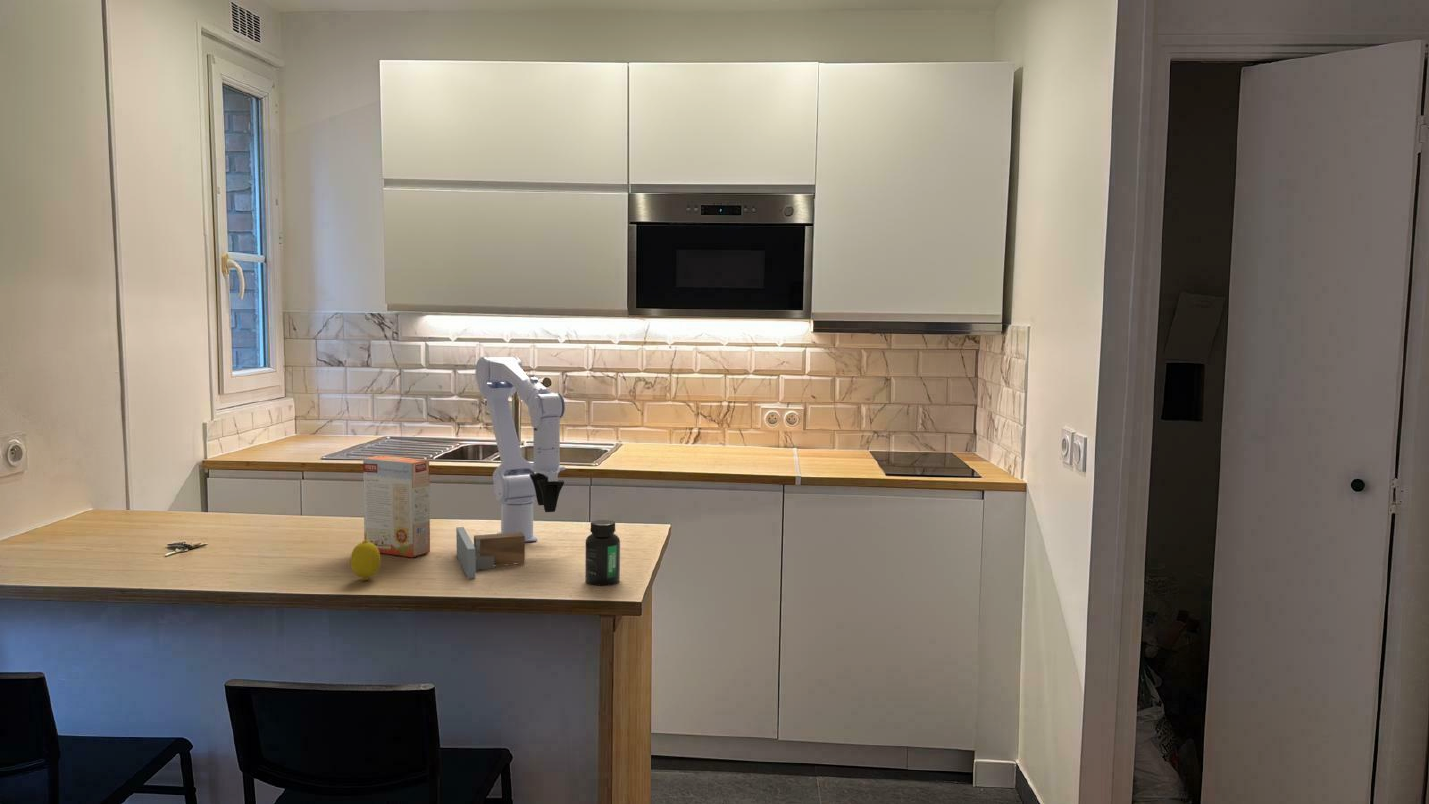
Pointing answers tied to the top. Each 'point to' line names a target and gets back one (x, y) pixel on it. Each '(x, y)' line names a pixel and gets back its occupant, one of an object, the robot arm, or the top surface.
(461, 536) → the grey plank with pegs
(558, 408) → the robot arm
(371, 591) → the top surface
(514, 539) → the block
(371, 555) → the lemon
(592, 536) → the supplement bottle
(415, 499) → the cracker box
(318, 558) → the top surface
